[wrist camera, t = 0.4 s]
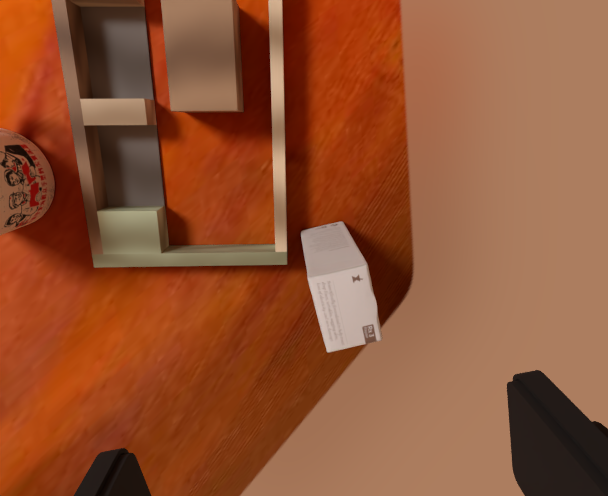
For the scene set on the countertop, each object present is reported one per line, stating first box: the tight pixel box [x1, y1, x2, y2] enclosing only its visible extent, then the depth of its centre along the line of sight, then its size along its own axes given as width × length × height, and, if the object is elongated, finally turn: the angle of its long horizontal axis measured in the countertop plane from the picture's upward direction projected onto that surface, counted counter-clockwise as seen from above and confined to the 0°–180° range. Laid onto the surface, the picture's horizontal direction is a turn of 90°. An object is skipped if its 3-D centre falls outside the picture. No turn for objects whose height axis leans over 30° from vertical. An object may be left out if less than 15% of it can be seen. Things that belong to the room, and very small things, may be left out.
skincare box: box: [301, 222, 382, 353], centre depth 34 cm, size 6×4×12 cm
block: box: [161, 0, 244, 113], centre depth 33 cm, size 8×5×4 cm, turn 0°
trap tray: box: [52, 0, 287, 267], centre depth 35 cm, size 23×17×2 cm
